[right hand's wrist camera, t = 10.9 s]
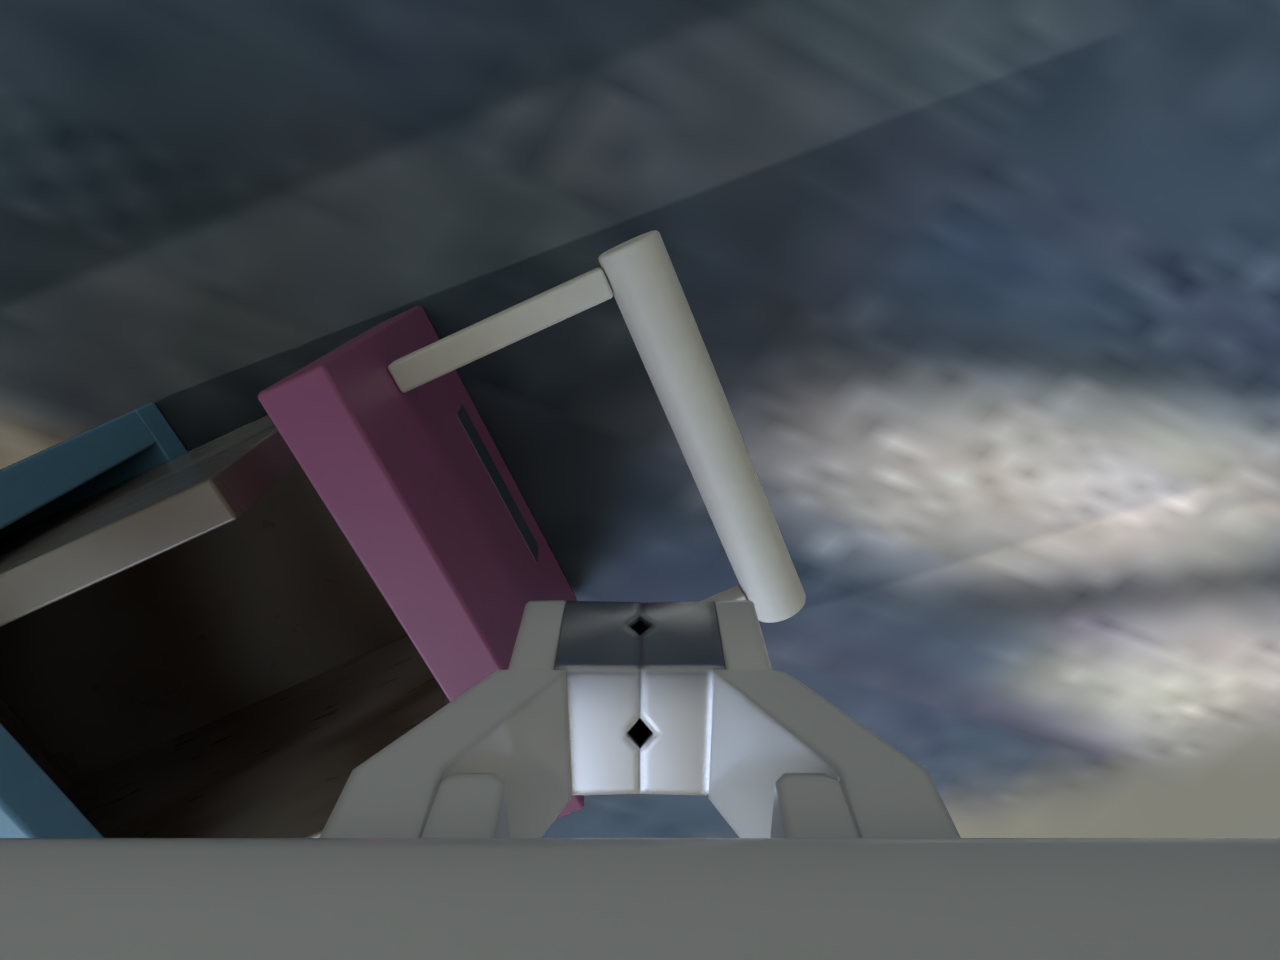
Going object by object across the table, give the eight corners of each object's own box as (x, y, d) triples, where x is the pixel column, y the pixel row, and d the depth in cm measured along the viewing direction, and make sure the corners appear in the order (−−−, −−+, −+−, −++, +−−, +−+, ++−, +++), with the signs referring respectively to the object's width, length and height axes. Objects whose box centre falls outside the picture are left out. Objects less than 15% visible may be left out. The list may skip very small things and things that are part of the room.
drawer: (625, 208, 20) (670, 202, 11) (755, 521, 23) (862, 691, 15) (-112, 549, 21) (-555, 768, 12) (111, 803, 24) (-125, 1109, 16)
